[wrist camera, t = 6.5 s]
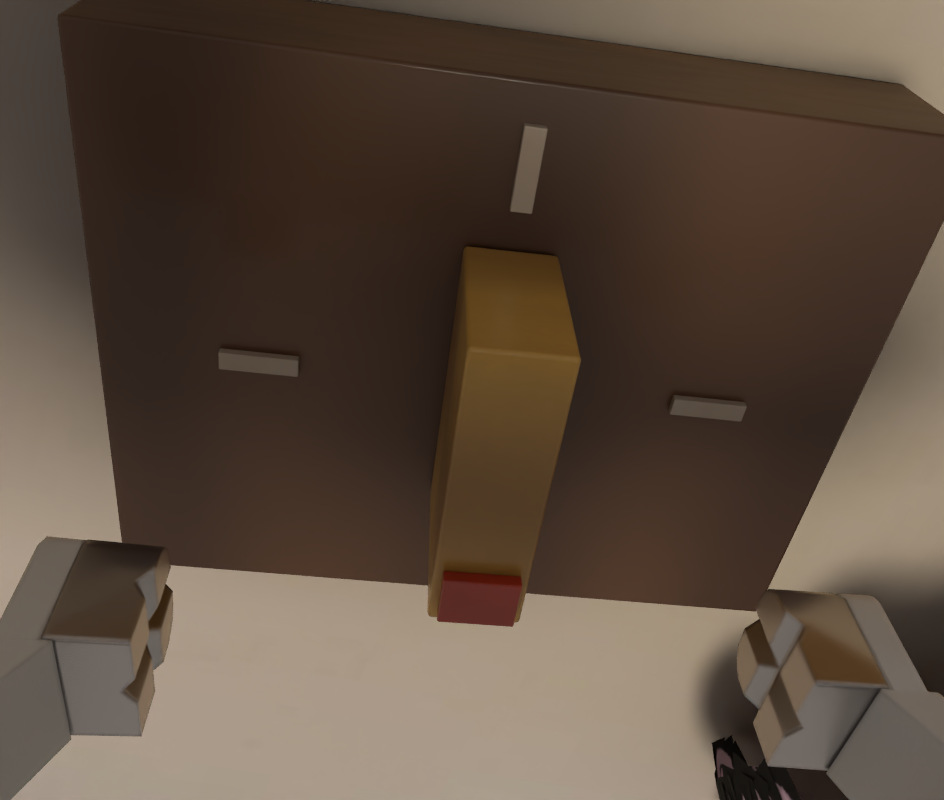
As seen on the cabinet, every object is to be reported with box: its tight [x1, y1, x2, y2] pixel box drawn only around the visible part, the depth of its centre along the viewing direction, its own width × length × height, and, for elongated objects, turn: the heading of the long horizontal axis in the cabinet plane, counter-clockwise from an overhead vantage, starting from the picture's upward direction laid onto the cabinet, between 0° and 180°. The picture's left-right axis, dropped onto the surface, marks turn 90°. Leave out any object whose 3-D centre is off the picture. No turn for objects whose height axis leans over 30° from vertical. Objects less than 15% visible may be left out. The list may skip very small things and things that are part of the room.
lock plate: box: [58, 0, 944, 611], centre depth 18 cm, size 14×11×3 cm
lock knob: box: [428, 247, 581, 627], centre depth 15 cm, size 6×2×3 cm, turn 173°
